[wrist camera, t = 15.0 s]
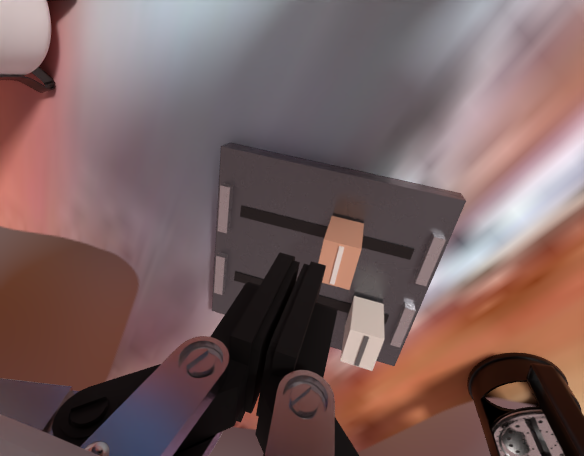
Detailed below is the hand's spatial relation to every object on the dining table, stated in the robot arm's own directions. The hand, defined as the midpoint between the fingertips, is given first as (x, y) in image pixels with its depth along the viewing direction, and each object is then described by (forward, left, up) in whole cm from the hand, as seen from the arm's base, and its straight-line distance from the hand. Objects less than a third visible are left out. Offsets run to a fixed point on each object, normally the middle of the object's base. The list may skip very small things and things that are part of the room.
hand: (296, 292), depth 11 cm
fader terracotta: (+7, +1, -18) cm, 20 cm away
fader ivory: (+15, +5, -18) cm, 24 cm away
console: (+11, -1, -21) cm, 23 cm away
